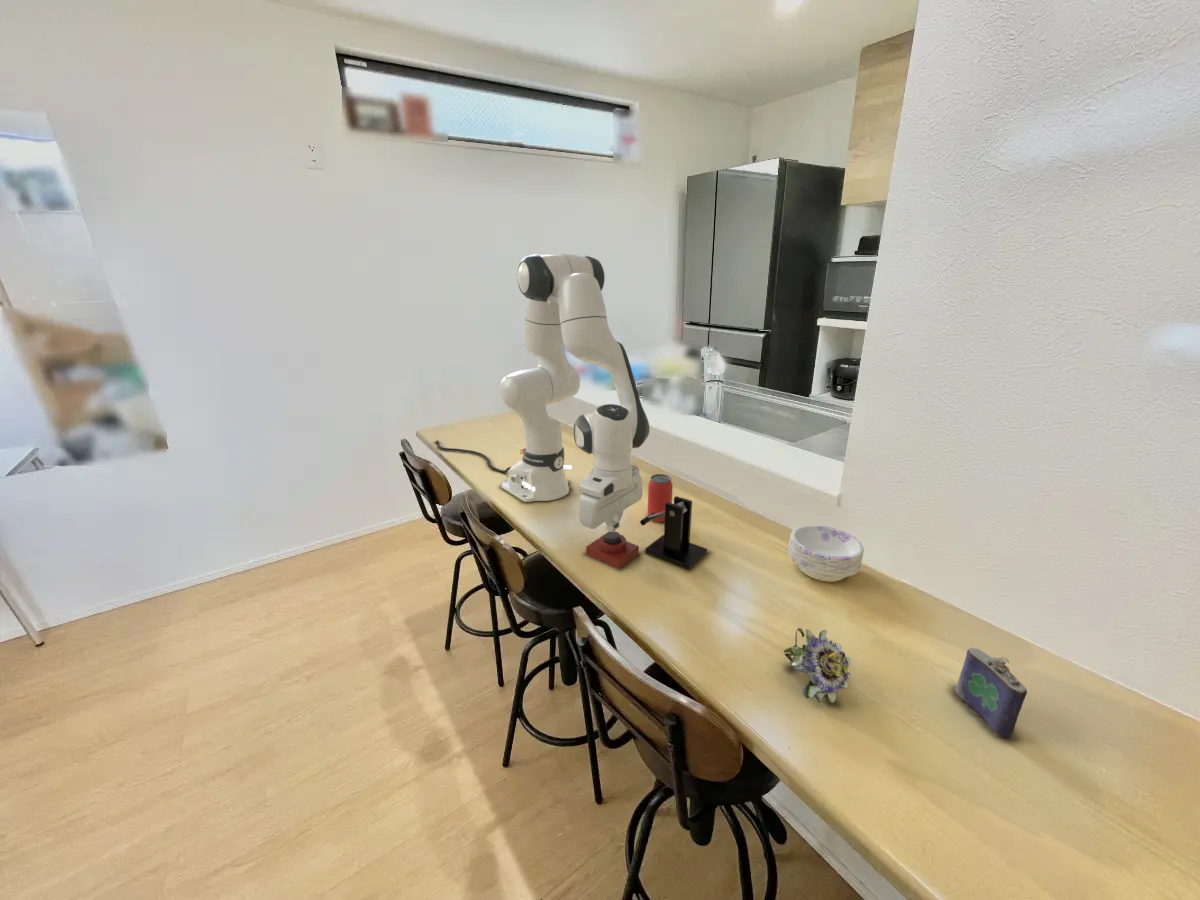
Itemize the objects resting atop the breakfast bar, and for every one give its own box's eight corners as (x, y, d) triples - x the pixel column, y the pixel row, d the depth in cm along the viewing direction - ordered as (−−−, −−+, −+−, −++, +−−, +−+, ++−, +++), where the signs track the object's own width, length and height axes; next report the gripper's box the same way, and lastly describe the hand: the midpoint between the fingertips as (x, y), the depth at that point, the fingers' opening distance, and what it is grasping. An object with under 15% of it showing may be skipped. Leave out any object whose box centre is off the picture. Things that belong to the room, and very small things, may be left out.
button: (602, 541, 119) (601, 535, 118) (611, 535, 121) (611, 529, 121) (613, 546, 116) (613, 540, 116) (622, 540, 119) (622, 534, 118)
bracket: (645, 552, 121) (646, 501, 116) (664, 537, 127) (666, 489, 122) (688, 569, 114) (692, 516, 109) (706, 553, 120) (710, 502, 115)
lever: (642, 527, 122) (638, 519, 122) (653, 520, 125) (649, 511, 125) (679, 516, 113) (675, 506, 113) (690, 508, 117) (686, 499, 117)
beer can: (670, 524, 134) (672, 483, 130) (646, 521, 135) (647, 481, 131) (671, 512, 140) (673, 474, 136) (648, 510, 141) (649, 472, 137)
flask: (950, 690, 81) (967, 638, 77) (966, 688, 81) (983, 636, 77) (1000, 741, 72) (1022, 685, 68) (1018, 738, 73) (1040, 682, 69)
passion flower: (823, 723, 81) (822, 709, 73) (768, 675, 88) (760, 657, 80) (863, 670, 84) (866, 650, 75) (805, 627, 91) (802, 604, 82)
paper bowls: (853, 558, 117) (859, 529, 115) (862, 596, 104) (869, 564, 101) (785, 547, 122) (789, 519, 119) (786, 582, 109) (790, 551, 106)
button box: (586, 554, 120) (586, 540, 119) (606, 540, 126) (606, 527, 125) (619, 568, 114) (619, 553, 113) (638, 553, 120) (639, 539, 119)
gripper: (627, 459, 122) (627, 509, 127) (573, 487, 107) (575, 542, 112) (649, 465, 119) (648, 516, 123) (596, 494, 104) (597, 551, 108)
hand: (613, 529), depth 118 cm, fingers closed
